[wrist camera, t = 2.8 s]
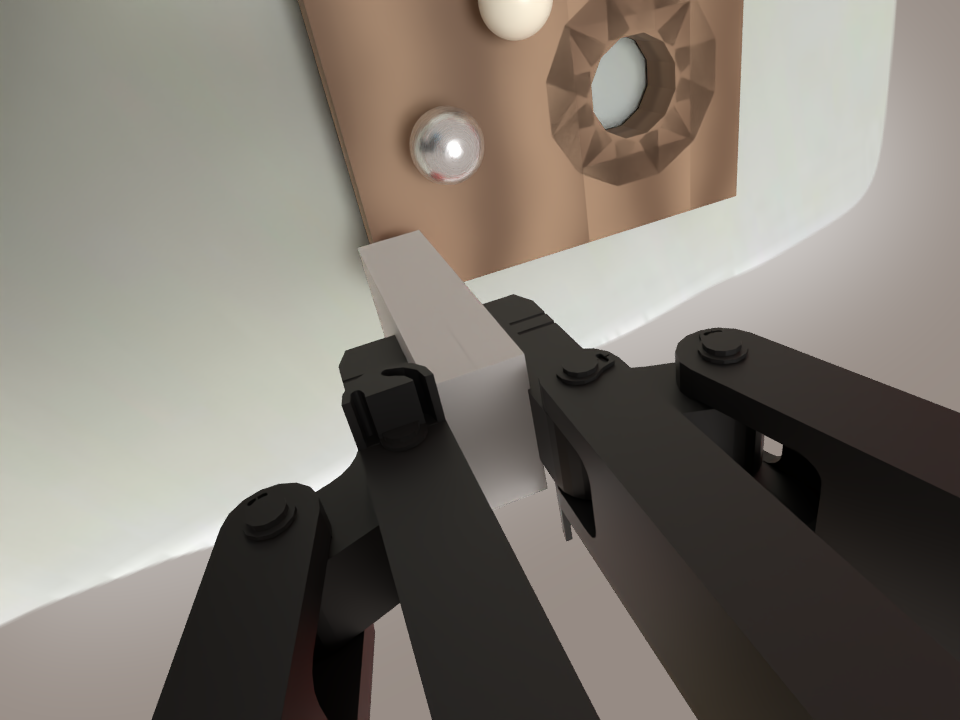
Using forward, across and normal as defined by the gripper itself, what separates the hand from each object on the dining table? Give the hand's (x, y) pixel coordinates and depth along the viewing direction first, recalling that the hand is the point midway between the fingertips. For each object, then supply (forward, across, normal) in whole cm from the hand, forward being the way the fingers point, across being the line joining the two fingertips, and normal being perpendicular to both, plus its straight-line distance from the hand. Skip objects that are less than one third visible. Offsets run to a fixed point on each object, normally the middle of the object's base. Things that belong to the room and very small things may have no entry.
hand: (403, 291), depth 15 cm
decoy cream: (+13, +9, +5) cm, 16 cm away
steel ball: (+13, +5, 0) cm, 14 cm away
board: (+17, +11, 0) cm, 20 cm away
